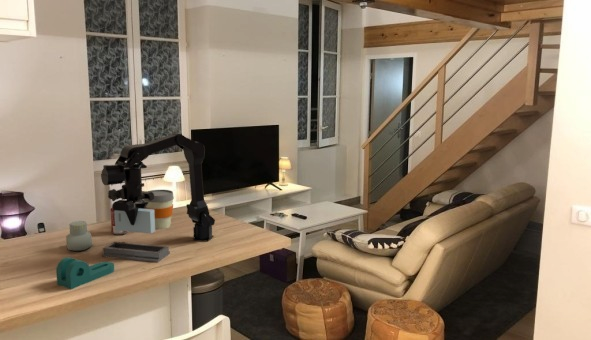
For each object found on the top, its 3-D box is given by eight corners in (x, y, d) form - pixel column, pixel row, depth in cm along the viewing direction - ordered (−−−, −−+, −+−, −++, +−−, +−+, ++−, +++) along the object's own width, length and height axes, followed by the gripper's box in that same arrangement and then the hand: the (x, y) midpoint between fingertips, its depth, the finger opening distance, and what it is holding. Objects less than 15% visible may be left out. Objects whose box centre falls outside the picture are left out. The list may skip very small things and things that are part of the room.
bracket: (71, 289, 149) (69, 265, 148) (57, 285, 153) (55, 261, 151) (118, 270, 165) (117, 248, 163) (105, 266, 168) (103, 244, 167)
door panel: (155, 230, 177) (154, 209, 176) (150, 233, 174) (150, 211, 173) (120, 227, 180) (119, 206, 179) (115, 230, 177) (114, 208, 176)
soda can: (123, 236, 200) (122, 207, 198) (108, 234, 202) (106, 206, 200) (131, 231, 207) (130, 203, 205) (117, 229, 208) (116, 202, 206)
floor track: (169, 253, 181) (169, 245, 181) (158, 262, 172) (157, 254, 172) (116, 248, 186) (115, 240, 185) (101, 256, 177) (101, 248, 176)
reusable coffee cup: (170, 230, 208) (169, 196, 206) (140, 230, 208) (139, 195, 206) (177, 222, 221) (176, 189, 218) (149, 221, 221) (148, 189, 218)
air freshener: (93, 251, 182) (91, 225, 180) (68, 254, 178) (67, 228, 176) (89, 242, 192) (88, 218, 190) (66, 245, 188) (64, 220, 186)
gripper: (126, 175, 185) (128, 215, 188) (97, 185, 167) (99, 229, 170) (154, 177, 182) (155, 217, 185) (126, 187, 165) (128, 232, 167)
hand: (135, 223), depth 177 cm, fingers closed on door panel, 3 cm apart
